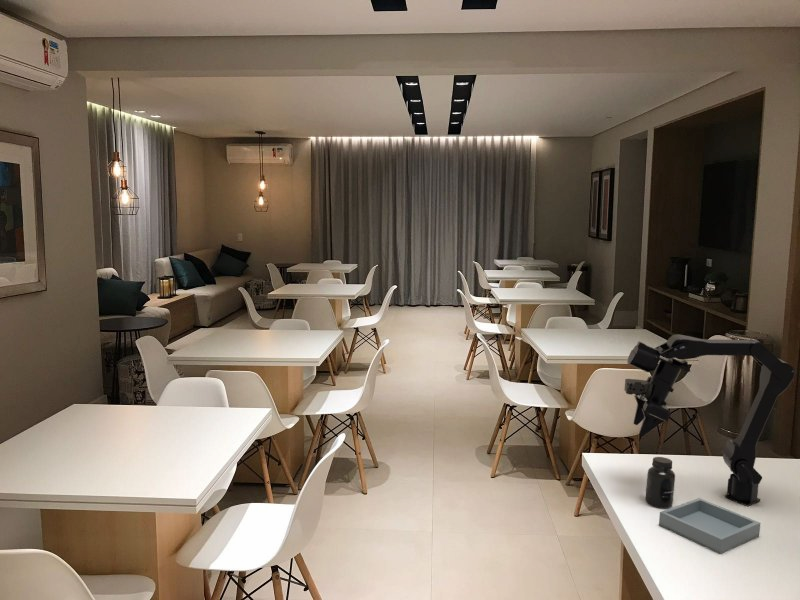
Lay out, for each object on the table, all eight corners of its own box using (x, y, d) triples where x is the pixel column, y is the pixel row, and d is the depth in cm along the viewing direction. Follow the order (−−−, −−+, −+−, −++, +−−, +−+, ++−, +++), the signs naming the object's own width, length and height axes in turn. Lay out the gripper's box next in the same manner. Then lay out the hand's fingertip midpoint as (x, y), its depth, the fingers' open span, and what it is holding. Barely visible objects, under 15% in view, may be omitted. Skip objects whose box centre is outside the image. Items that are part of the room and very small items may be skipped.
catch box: (759, 536, 161) (760, 522, 160) (720, 554, 152) (721, 539, 151) (697, 510, 174) (698, 497, 173) (658, 525, 165) (659, 511, 165)
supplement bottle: (670, 511, 173) (673, 466, 171) (642, 504, 177) (645, 461, 175) (675, 502, 179) (678, 458, 177) (648, 495, 182) (651, 453, 181)
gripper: (629, 359, 191) (605, 407, 194) (640, 375, 172) (614, 428, 175) (667, 375, 189) (642, 423, 192) (682, 393, 171) (655, 446, 174)
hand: (637, 429), depth 184 cm, fingers open, 9 cm apart
